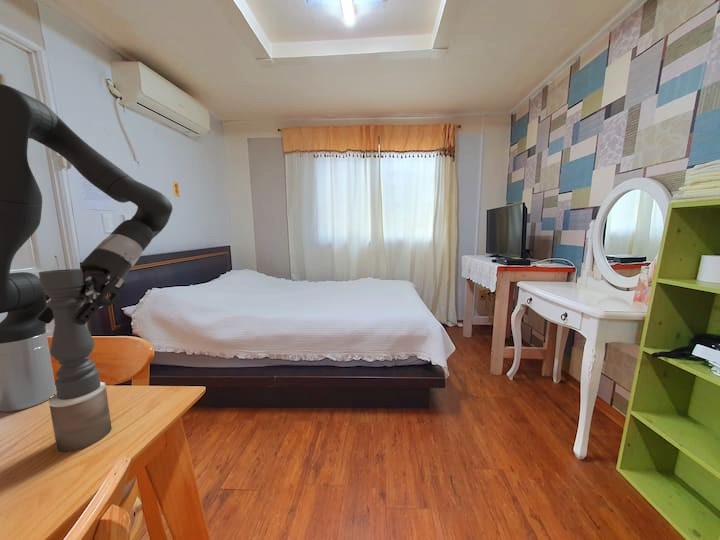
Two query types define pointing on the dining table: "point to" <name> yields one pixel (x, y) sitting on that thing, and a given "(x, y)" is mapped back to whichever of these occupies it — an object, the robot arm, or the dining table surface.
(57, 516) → the dining table surface
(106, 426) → the gray cylinder
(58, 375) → the candle holder
